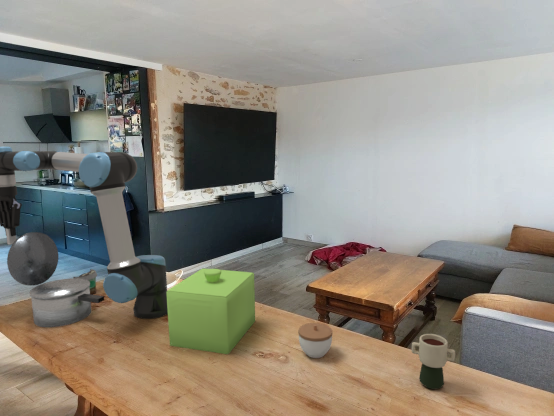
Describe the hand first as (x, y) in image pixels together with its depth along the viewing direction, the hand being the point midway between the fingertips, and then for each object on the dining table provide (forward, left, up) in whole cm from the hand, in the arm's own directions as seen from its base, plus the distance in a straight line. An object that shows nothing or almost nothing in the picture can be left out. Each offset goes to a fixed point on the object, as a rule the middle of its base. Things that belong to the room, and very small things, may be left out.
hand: (12, 243), depth 157 cm
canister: (-88, -4, -28) cm, 93 cm away
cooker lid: (-12, 0, -5) cm, 13 cm away
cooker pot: (-28, 0, -28) cm, 39 cm away
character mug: (-159, +6, -28) cm, 162 cm away
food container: (-15, -22, -28) cm, 39 cm away
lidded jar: (-125, -1, -28) cm, 129 cm away
